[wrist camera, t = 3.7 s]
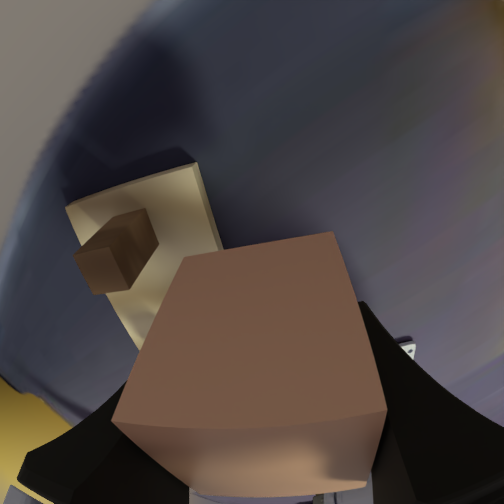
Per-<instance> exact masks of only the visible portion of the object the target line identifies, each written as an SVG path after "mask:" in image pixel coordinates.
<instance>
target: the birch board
mask: <svg viewBox="0 0 504 504" xmlns="http://www.w3.org/2000/svg"><path fill="white" fill-rule="evenodd" d="M143 208H146V211H147V214H148V216H149V219H150V221H151V224H152V227H153V229H154V232H155V234H156V237H157V240H158V242H159V246H158V247H157V249H156V250H155V252H154V253H153V255H152V256H151V258H150V259H149V261H148V262H147V264H146V265H145V267H144V268H143V270H142V271H141V273H140V274H139V276H138V278H137V279H136V281H135V282H134V284H133V285H132V287H131V289H130V290H126V291H118V292H111V293H106V295H107V297H108V299H109V300H110V302H111V304H112V306H113V307H114V309H115V311H116V313H117V314H118V316H119V318H120V320H121V321H122V323H123V325H124V326H125V328H126V330H127V331H128V333H129V335H130V336H131V338H132V339H133V341H134V343H135V344H136V346H137V347H138V349H139V350H141V348H142V345H143V343H144V341H145V338H146V336H147V334H148V332H149V330H150V327H151V325H152V323H153V321H154V319H155V316H156V314H157V312H158V310H159V308H160V306H161V303H162V301H163V299H164V297H165V295H166V293H167V291H168V289H169V287H170V285H171V282H172V280H173V278H174V276H175V274H176V272H177V270H178V268H179V266H180V264H181V262H182V260H183V258H184V257H187V256H192V255H198V254H204V253H209V252H215V251H221V250H224V249H223V246H222V243H221V239H220V236H219V233H218V230H217V227H216V223H215V220H214V217H213V214H212V210H211V207H210V204H209V201H208V197H207V194H206V191H205V187H204V184H203V181H202V177H201V174H200V171H199V167H198V164H197V162H195V163H191V164H187V165H184V166H180V167H176V168H173V169H169V170H166V171H162V172H159V173H156V174H152V175H149V176H146V177H143V178H139V179H136V180H133V181H130V182H127V183H124V184H121V185H118V186H115V187H112V188H109V189H106V190H103V191H100V192H98V193H95V194H92V195H89V196H86V197H84V198H81V199H78V200H76V201H73V202H72V203H71V204H69V205H68V206H66V207H65V209H66V211H67V214H68V216H69V219H70V221H71V223H72V225H73V228H74V230H75V232H76V235H77V237H78V239H79V241H80V243H81V245H82V246H83V245H84V244H85V243H86V242H87V241H88V240H89V239H90V238H91V237H92V236H93V235H94V234H95V233H96V232H97V231H98V230H99V229H100V228H101V227H102V226H103V225H104V224H106V223H107V222H108V221H109V220H110V219H111V218H112V217H114V216H118V215H121V214H125V213H128V212H132V211H136V210H139V209H143Z"/></svg>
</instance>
